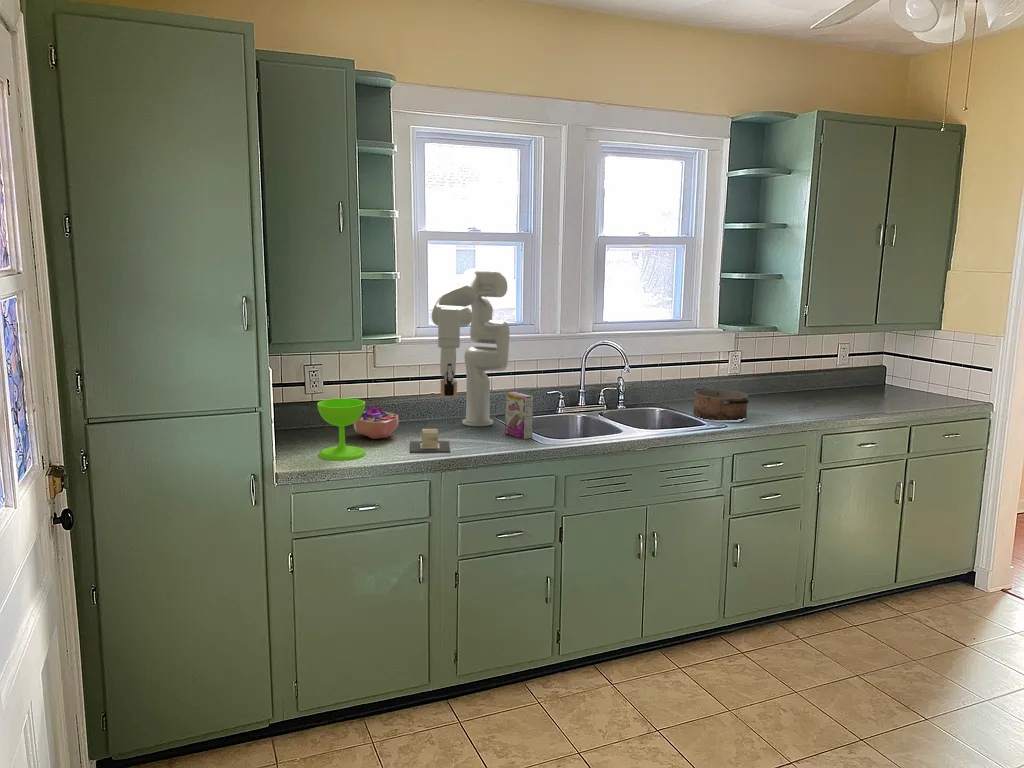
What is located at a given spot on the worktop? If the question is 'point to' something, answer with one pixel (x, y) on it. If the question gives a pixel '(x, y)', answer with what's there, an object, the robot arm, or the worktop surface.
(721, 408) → the cooking pot
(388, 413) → the cell model
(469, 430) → the worktop surface
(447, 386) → the robot arm
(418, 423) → the worktop surface
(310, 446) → the worktop surface
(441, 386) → the terracotta block
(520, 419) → the candy bar box
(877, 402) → the worktop surface
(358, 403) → the wineglass
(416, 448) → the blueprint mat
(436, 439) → the birch block
